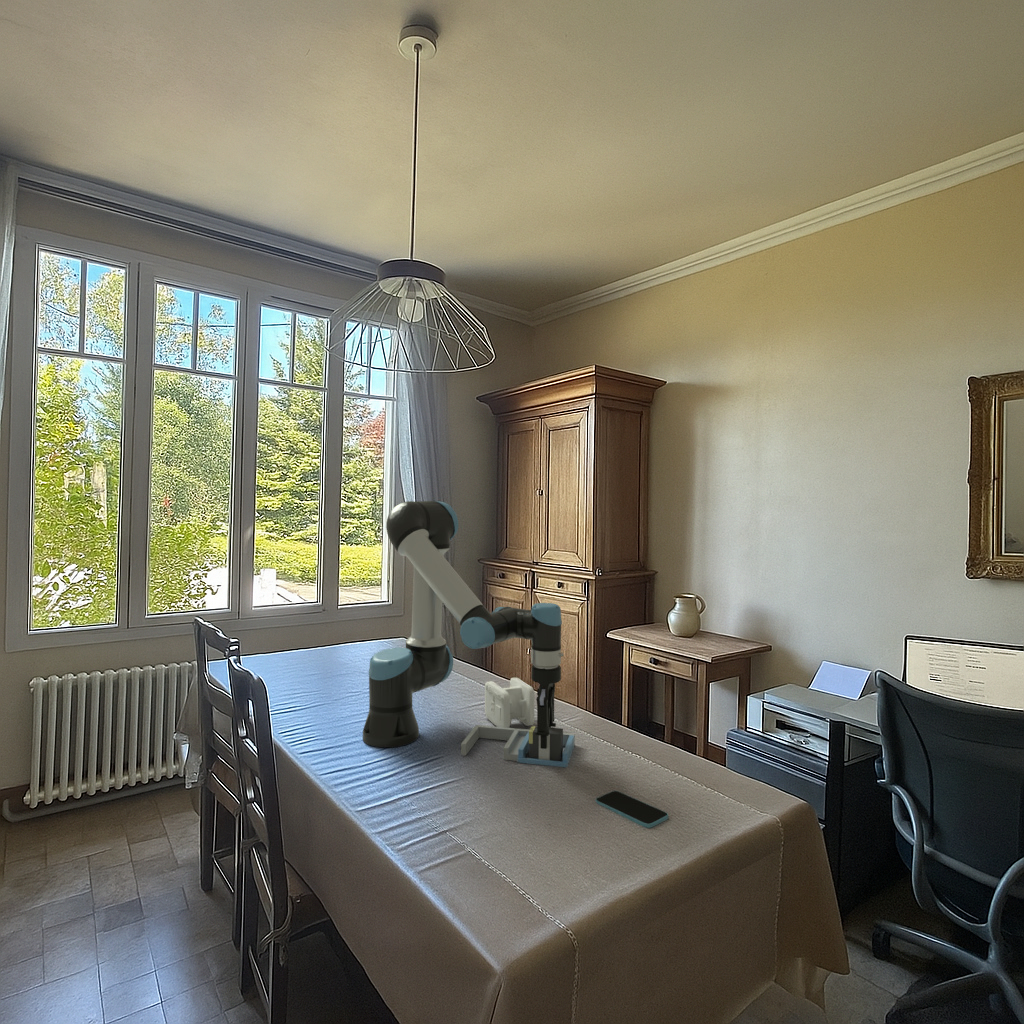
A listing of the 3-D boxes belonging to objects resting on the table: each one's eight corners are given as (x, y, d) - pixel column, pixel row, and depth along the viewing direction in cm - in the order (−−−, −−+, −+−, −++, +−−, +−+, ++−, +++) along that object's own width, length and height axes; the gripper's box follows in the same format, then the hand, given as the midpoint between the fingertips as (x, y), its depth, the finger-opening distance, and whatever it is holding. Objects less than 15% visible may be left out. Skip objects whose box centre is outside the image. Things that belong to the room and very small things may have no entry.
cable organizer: (536, 729, 184) (536, 689, 183) (502, 735, 179) (502, 693, 179) (514, 713, 197) (515, 675, 197) (482, 718, 193) (482, 679, 193)
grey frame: (460, 756, 165) (460, 744, 164) (475, 735, 179) (476, 724, 179) (566, 767, 158) (567, 755, 158) (574, 744, 173) (574, 733, 172)
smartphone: (615, 789, 146) (670, 814, 134) (615, 794, 146) (670, 819, 134) (593, 799, 141) (648, 825, 130) (593, 804, 141) (648, 830, 130)
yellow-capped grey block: (528, 759, 163) (528, 731, 163) (531, 752, 167) (532, 726, 167) (560, 762, 162) (560, 734, 161) (562, 755, 166) (563, 728, 165)
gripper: (555, 675, 155) (555, 771, 155) (565, 657, 171) (565, 744, 172) (524, 673, 156) (524, 768, 157) (537, 655, 173) (537, 742, 174)
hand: (545, 756), depth 164 cm, fingers closed on yellow-capped grey block, 4 cm apart
